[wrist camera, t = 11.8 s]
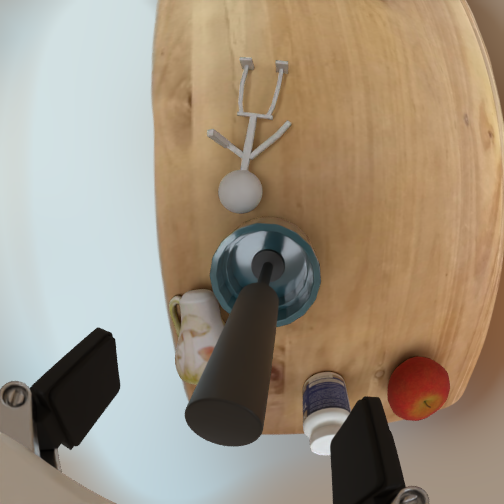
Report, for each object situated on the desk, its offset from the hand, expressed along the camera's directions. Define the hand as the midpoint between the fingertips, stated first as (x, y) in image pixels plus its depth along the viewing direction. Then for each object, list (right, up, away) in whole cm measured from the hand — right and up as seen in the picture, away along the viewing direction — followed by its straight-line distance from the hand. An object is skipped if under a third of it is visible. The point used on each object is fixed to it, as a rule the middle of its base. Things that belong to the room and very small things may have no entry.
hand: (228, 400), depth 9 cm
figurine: (+1, +16, +16) cm, 23 cm away
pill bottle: (+10, -11, +22) cm, 26 cm away
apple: (+21, -10, +20) cm, 30 cm away
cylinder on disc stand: (+2, +4, +18) cm, 19 cm away
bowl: (+3, +4, +19) cm, 19 cm away
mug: (-4, -3, +21) cm, 22 cm away
